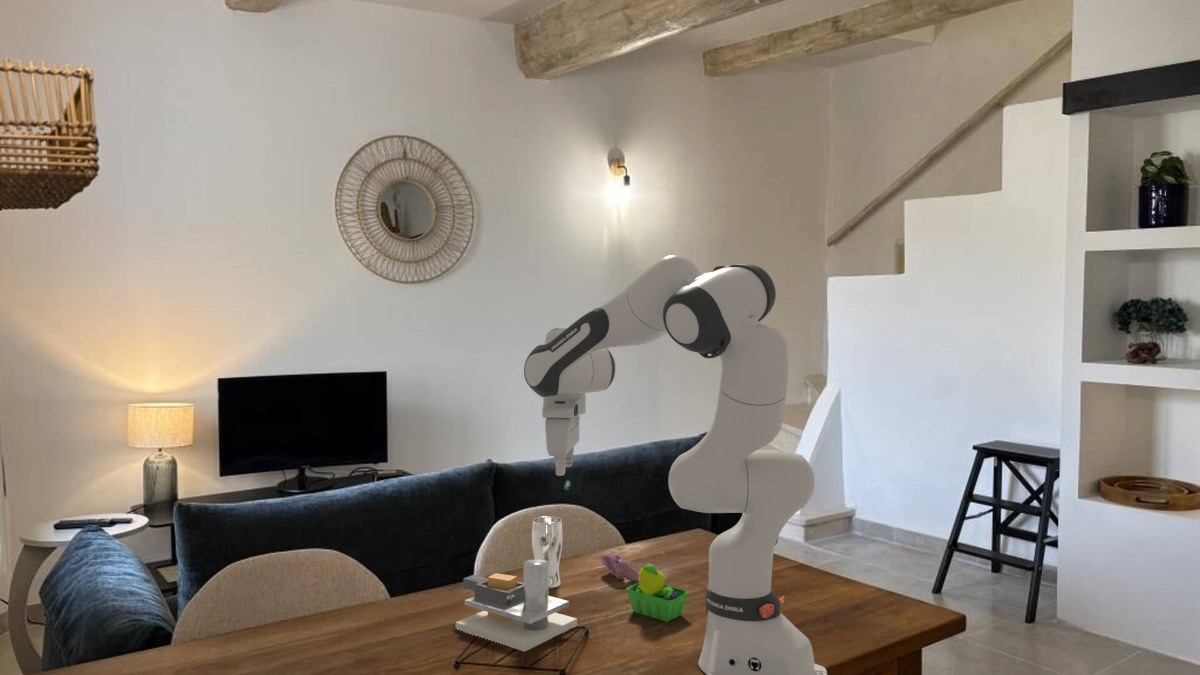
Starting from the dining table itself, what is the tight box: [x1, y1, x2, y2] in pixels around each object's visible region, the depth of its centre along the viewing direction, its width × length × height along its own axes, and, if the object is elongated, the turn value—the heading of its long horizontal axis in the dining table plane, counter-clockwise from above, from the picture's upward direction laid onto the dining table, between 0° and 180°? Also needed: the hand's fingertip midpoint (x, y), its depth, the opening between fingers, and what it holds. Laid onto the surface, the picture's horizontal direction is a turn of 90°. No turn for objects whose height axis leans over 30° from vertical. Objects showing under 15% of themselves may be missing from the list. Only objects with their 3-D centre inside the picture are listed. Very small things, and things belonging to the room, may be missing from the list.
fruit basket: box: [626, 563, 689, 623], centre depth 186 cm, size 11×9×11 cm
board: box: [455, 610, 578, 652], centre depth 179 cm, size 18×16×2 cm
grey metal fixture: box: [462, 559, 570, 631], centre depth 180 cm, size 22×12×12 cm, turn 54°
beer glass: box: [531, 515, 564, 590], centre depth 205 cm, size 7×7×15 cm
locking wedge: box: [487, 572, 518, 620], centre depth 181 cm, size 5×3×8 cm, turn 65°
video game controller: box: [601, 551, 640, 582], centre depth 211 cm, size 10×5×7 cm, turn 27°
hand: (564, 470), depth 188 cm, fingers open, 8 cm apart
